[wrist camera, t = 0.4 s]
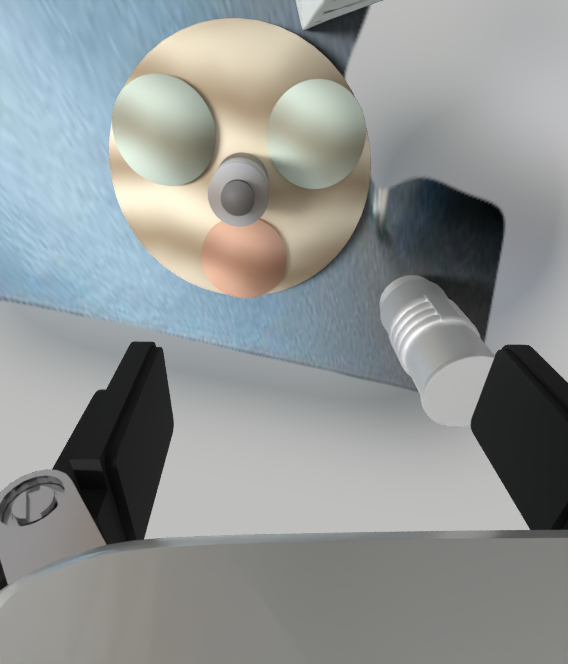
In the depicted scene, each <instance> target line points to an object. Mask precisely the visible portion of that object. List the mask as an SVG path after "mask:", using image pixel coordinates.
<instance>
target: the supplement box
mask: <svg viewBox="0 0 568 664" xmlns="http://www.w3.org/2000/svg"><path fill="white" fill-rule="evenodd" d="M379 1H382V0H296V4H297V8H298V13H299V17H300V22H301V26H302V29H303V30H306V29H309V28H311V27H313V26H315V25H318V24H320V23H323V22H325V21H328V20H330V19H333V18H336V17H338V16H341V15H344V14H346V13H349V12H352V11H355V10H357V9H360V8H363V7H366V6H368V5H371V4H373V3H376V2H379Z"/></svg>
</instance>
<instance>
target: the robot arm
mask: <svg viewBox="0 0 568 664" xmlns="http://www.w3.org/2000/svg"><path fill="white" fill-rule="evenodd" d="M173 427H174V422H173V413H172V407H171V400H170V393H169V387H168V381H167V374H166V367H165V361H164V353H163V349H162V348H161V347H156V345H155V343H154V342H132V343H131V344H130V346H129V347H128V350H127V351H126V353H125V355H124V357H123V359H122V361H121V363H120V364H119V366H118V368H117V370H116V372H115V374H114V376H113V378H112V380H111V381H110V383H109V385H108V387H107V389H106V390H98V391H97V392H96V393H95V394H94V396H93V397H92V399H91V401H90V403H89V404H88V406H87V408H86V410H85V412H84V414H83V415H82V417H81V419H80V420H79V422H78V424H77V426H76V428H75V429H74V431H73V433H72V435H71V437H70V438H69V440H68V442H67V444H66V446H65V447H64V449H63V451H62V453H61V455H60V456H59V458H58V460H57V462H56V463H55V465H54V467H53V469H52V470H41V471H35V472H32V473H30V474H27V475H24V476H22V477H20V478H19V479H17V480H15V481H14V482H12V483H10V484H9V485H8V486H7V487H6V488H4V490H2V491H1V492H0V664H568V383H567V382H566V381H565V380H564V379H563V378H562V377H561V376H560V375H559V374H558V373H557V372H556V371H555V370H554V369H553V368H552V367H551V366H550V365H549V364H548V363H547V362H546V361H545V360H544V359H543V358H542V357H541V356H540V355H539V354H538V353H537V352H536V351H535V350H534V349H533V348H532V347H531V346H529V345H505V346H504V347H503V348H502V350H498V351H497V353H496V354H495V357H494V360H493V362H492V365H491V368H490V370H489V373H488V376H487V378H486V381H485V384H484V386H483V389H482V392H481V394H480V397H479V400H478V402H477V405H476V408H475V410H474V413H473V416H472V418H471V429H472V432H473V434H474V436H475V437H476V439H477V441H478V442H479V444H480V446H481V447H482V449H483V451H484V452H485V454H486V456H487V458H488V459H489V461H490V463H491V464H492V466H493V468H494V469H495V471H496V473H497V474H498V476H499V478H500V479H501V481H502V483H503V484H504V486H505V488H506V489H507V491H508V493H509V495H510V496H511V498H512V499H513V501H514V503H515V505H516V506H517V508H518V510H519V511H520V513H521V515H522V516H523V518H524V520H525V521H526V523H527V525H528V526H529V528H530V530H499V531H497V530H495V531H419V532H357V533H356V532H353V533H303V534H254V535H222V536H196V537H195V536H194V537H170V538H157V539H146V540H144V537H145V533H146V529H147V526H148V522H149V518H150V515H151V511H152V507H153V504H154V500H155V496H156V493H157V489H158V485H159V482H160V478H161V474H162V470H163V467H164V463H165V459H166V456H167V452H168V448H169V444H170V441H171V437H172V434H173Z"/></svg>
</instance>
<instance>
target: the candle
mask: <svg viewBox="0 0 568 664" xmlns="http://www.w3.org/2000/svg"><path fill="white" fill-rule="evenodd" d="M380 310H381V314H380V318H381V322H382V325H383V326H384V328H385V329H386V331H387V332H388V334H389V339H390V343H391V345H392V346H393V348H394V351H395V352H396V354H397V357H398V359H399V360H400V363H401V365H402V367H403V369H404V370H405V372H406V373H407V374H408V375H410V376H411V377H412V379H413V381H414V383H415V385H416V387H417V389H418V391H419V393H420V395H421V402H422V407H423V409H424V411H425V412H426V414H427V415H428V417H429V418H431V419H432V420H433V421H435V422H436V423H439V424H442V425H444V426H452V427H461V426H469V425H471V418H472V416H473V413H474V410H475V408H476V405H477V402H478V400H479V397H480V394H481V392H482V389H483V386H484V384H485V381H486V378H487V376H488V373H489V370H490V368H491V365H492V362H493V360H494V357H495V356H494V354H493V353H492V352H491V351H490V349H489V348H488V347H487V346H486V345H485V344H484V342H483V341H482V340H481V339H480V334H479V332H478V330H477V328H476V327H475V325H474V324H473V323H471V321H470V320H469V318H468V317H466V316H465V314H464V313H463V312H462V311H461V310H460V309H459V307H458V306H457V305H456V304H455V303H454V302H453V301H452V300H450V299H448V297H447V296H446V294H445V293H444V291H443V289H441V288H440V287H439V286H438V285H437V284H435V283H433V282H431V281H428V280H427V279H426V278H423V277H421V276H416V275H409V276H404V277H401V278H398V279H396V280H395V281H393V282H391V283H390V284H389V285H388V286H387V287H386V288H385V290H384V292H383V293H382V295H381V298H380Z"/></svg>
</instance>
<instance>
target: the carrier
mask: <svg viewBox="0 0 568 664" xmlns="http://www.w3.org/2000/svg"><path fill="white" fill-rule="evenodd" d="M109 161H110V169H111V177H112V181H113V185H114V189H115V193H116V197H117V199H118V202H119V204H120V207H121V210H122V212H123V214H124V216H125V218H126V220H127V222H128V224H129V226H130V227H131V229H132V230H133V232H134V233H135V235H136V236H137V238H138V239H139V241H140V242H141V243H142V244H143V245H144V247H145V248H146V249H147V250H148V251H149V252H150V254H151V255H152V256H154V257H155V258H156V259H157V260H158V261H159V262H160V263H161V264H162V265H163V266H165V267H166V268H167V269H169V270H170V271H171V272H173V273H174V274H176V275H177V276H179V277H181V278H183V279H184V280H186V281H188V282H190V283H192V284H194V285H197V286H199V287H201V288H204V289H207V290H211V291H214V292H218V293H223V294H228V295H230V296H233V297H238V298H253V297H258V296H261V295H264V294H270V293H275V292H278V291H282V290H285V289H288V288H291V287H293V286H295V285H298V284H300V283H302V282H304V281H305V280H307V279H309V278H310V277H312V276H314V275H315V274H316V273H318V272H319V271H320V270H322V269H323V268H324V267H326V266H327V265H328V264H329V263H330V262H331V261H332V260H333V259H334V258H335V257H336V256H337V255H338V253H339V252H340V251H341V250H342V248H343V247H344V246H345V245H346V243H347V242H348V240H349V238H350V237H351V235H352V234H353V232H354V230H355V228H356V226H357V224H358V222H359V219H360V217H361V215H362V212H363V209H364V206H365V203H366V199H367V194H368V189H369V184H370V171H371V158H370V145H369V139H368V134H367V128H366V125H365V118H364V115H363V112H362V109H361V107H360V105H359V103H358V101H357V100H356V98H355V96H354V94H353V92H352V90H351V89H350V87H349V86H348V84H347V82H346V81H345V79H344V78H343V76H342V75H341V74H340V72H339V71H338V70H337V69H336V68H335V66H334V65H333V64H332V63H331V62H330V60H329V59H327V58H326V57H325V56H324V55H323V54H322V53H321V52H320V51H319V50H317V49H316V48H315V47H314V46H313V45H311V44H310V43H308V42H307V41H305V40H304V39H302V38H301V37H299V36H298V35H296V34H294V33H292V32H289V31H287V30H285V29H283V28H281V27H279V26H276V25H272V24H269V23H265V22H262V21H258V20H250V19H242V18H229V19H216V20H211V21H206V22H201V23H198V24H195V25H192V26H190V27H187V28H185V29H182V30H180V31H178V32H177V33H175V34H173V35H172V36H170V37H168V38H167V39H165V40H163V41H162V42H161V43H160V44H158V45H157V46H156V47H155V48H154V49H153V50H151V51H150V52H149V53H148V54H147V55H146V56H145V57H144V59H143V60H142V61H141V62H140V63H139V64H138V66H137V67H136V68H135V69H134V71H133V72H132V74H131V76H130V77H129V79H128V81H127V82H126V84H125V85H124V88H123V89H122V91H121V92H120V94H119V95H118V97H117V99H116V102H115V105H114V108H113V114H112V124H111V132H110V139H109Z"/></svg>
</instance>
